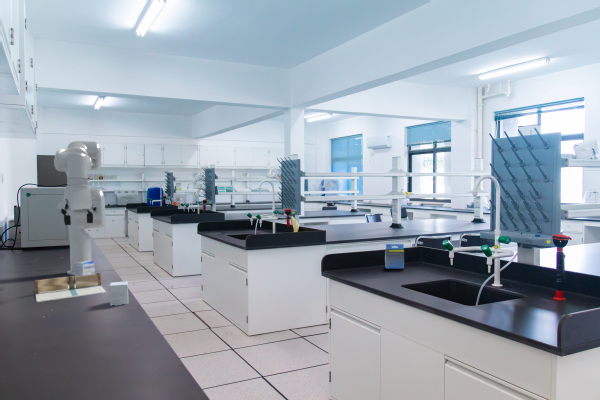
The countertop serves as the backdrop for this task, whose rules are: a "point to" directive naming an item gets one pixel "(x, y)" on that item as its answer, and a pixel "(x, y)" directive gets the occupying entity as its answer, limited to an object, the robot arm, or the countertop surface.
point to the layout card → (69, 293)
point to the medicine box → (84, 268)
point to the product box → (118, 293)
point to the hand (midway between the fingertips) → (79, 224)
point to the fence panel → (50, 285)
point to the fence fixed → (85, 281)
